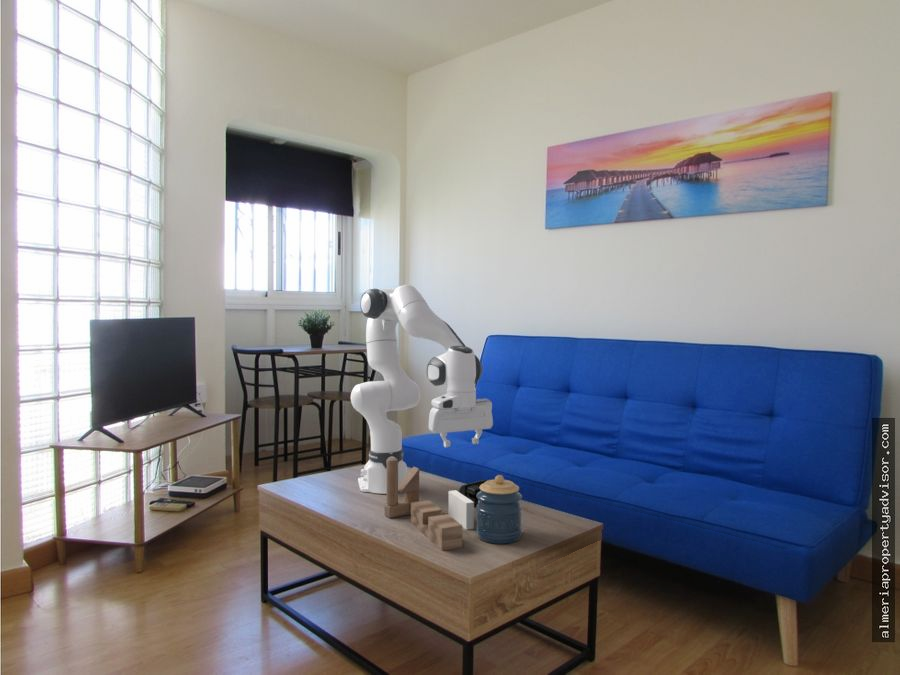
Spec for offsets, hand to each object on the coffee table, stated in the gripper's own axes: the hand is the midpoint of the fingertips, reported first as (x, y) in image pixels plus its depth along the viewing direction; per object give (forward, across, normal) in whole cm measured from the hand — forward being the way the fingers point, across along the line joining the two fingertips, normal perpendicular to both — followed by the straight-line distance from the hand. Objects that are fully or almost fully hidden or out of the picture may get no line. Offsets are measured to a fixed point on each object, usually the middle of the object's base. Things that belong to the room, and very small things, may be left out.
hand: (461, 445), depth 188 cm
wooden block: (+24, +14, -14) cm, 31 cm away
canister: (+24, -5, +15) cm, 29 cm away
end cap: (+24, -13, -15) cm, 31 cm away
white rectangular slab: (+24, 0, 0) cm, 24 cm away
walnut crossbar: (+24, +11, +6) cm, 27 cm away
